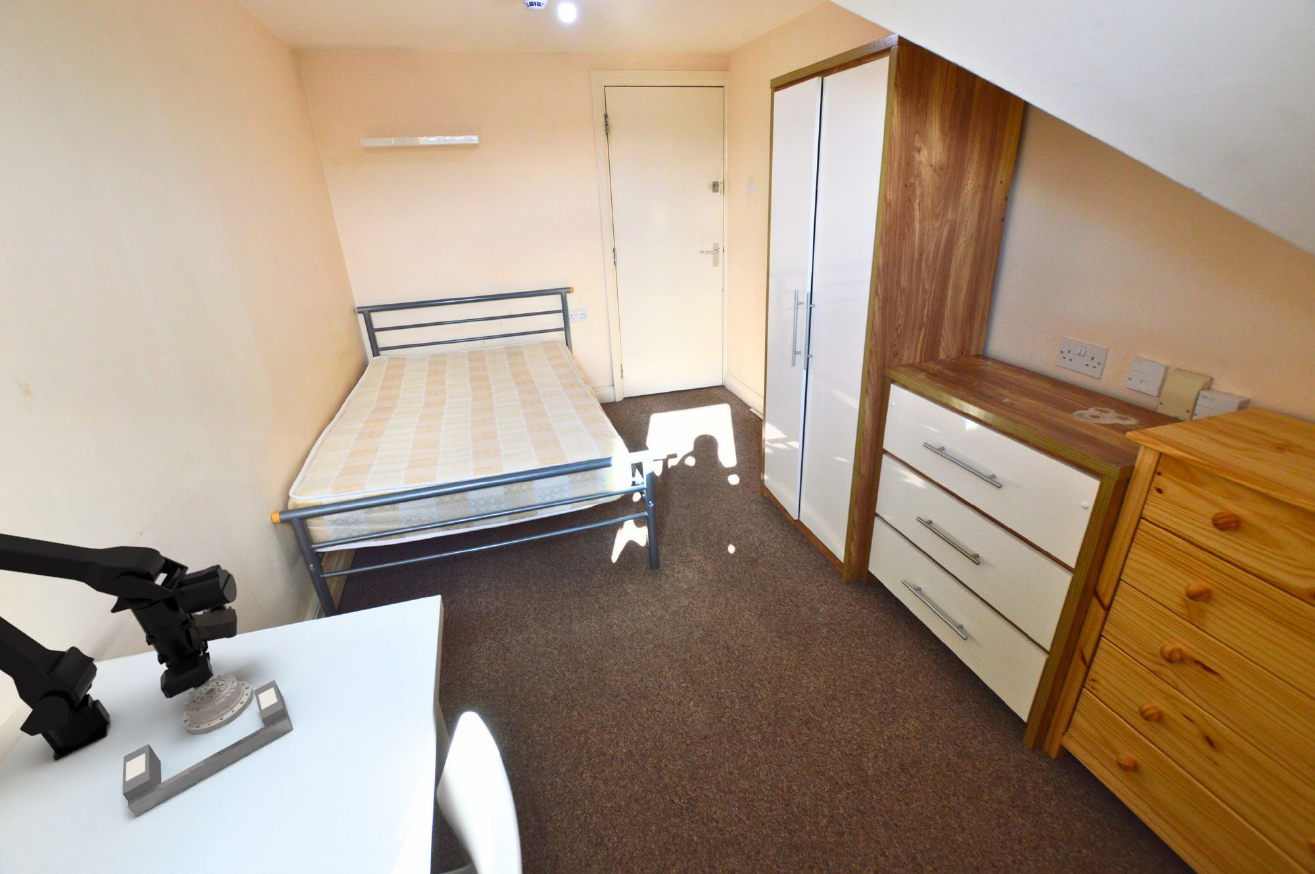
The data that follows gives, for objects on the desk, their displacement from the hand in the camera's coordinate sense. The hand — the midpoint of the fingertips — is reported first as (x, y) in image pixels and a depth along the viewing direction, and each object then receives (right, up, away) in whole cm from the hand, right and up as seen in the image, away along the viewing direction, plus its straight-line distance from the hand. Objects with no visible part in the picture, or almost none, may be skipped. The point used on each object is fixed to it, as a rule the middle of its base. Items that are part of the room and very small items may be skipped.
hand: (204, 688), depth 100 cm
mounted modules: (+10, -5, -10) cm, 15 cm away
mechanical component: (+5, -3, -2) cm, 6 cm away
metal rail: (+13, -6, -13) cm, 19 cm away
